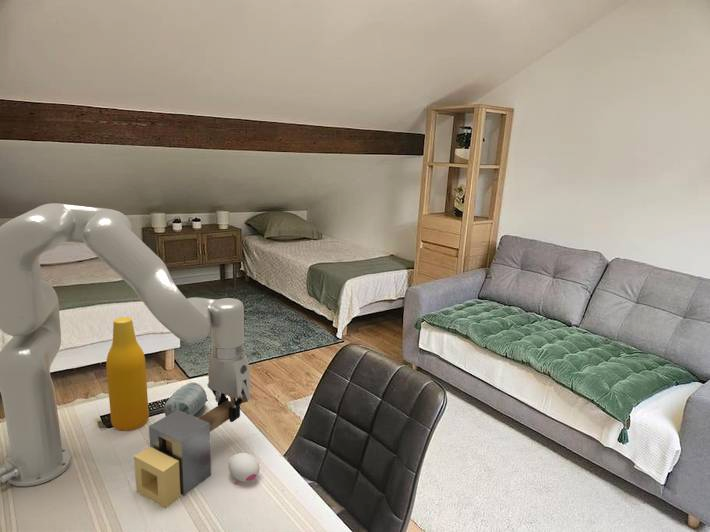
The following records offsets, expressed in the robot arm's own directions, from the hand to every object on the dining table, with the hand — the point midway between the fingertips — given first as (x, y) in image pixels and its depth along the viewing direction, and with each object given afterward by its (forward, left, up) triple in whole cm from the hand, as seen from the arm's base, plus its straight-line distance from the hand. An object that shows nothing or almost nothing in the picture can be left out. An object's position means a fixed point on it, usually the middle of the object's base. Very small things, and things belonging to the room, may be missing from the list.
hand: (229, 416), depth 122 cm
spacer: (-22, 0, -8) cm, 23 cm away
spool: (+3, +18, -8) cm, 20 cm away
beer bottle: (-7, +28, -8) cm, 30 cm away
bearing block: (-15, 0, -7) cm, 17 cm away
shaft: (-9, 0, +1) cm, 9 cm away
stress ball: (-7, -12, -8) cm, 16 cm away
